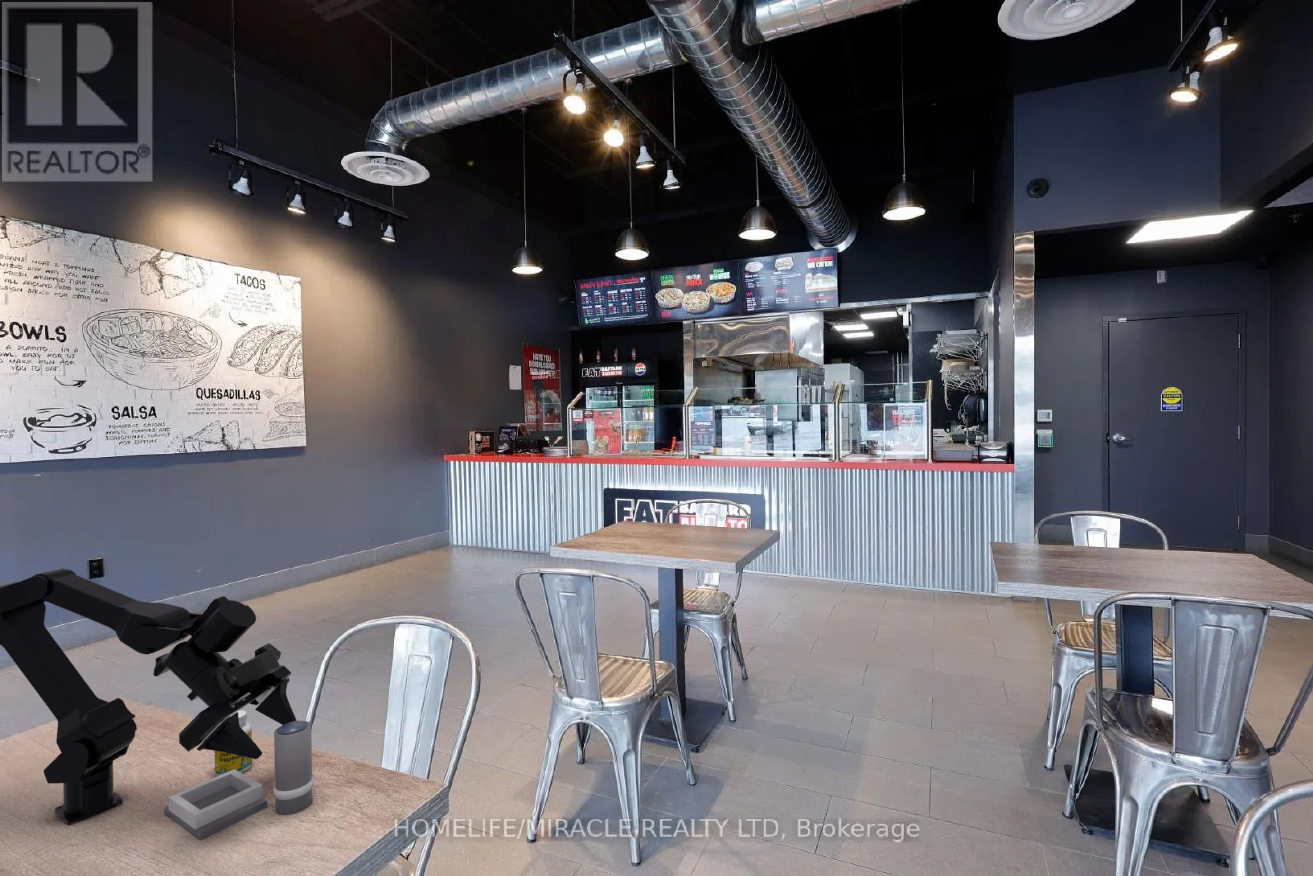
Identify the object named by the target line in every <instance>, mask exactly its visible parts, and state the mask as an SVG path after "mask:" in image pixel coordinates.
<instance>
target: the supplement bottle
mask: <svg viewBox="0 0 1313 876" xmlns="http://www.w3.org/2000/svg"><path fill="white" fill-rule="evenodd" d="M237 712H238V717H239V725H240V727H241V728H242V729H243V730H244V732H245V733H246V734H247V735H248V736H249V737H250V738H251V739H252V740H253V738H252V737H253V728H252V725H251V723H250V722H248V721H247V719H248V717H247V713H248V712H247V711H246V710H243V709H242V710H241V709H240V710H238V711H237ZM235 713H236V712H235ZM235 713H234V714H235ZM232 715H233V714H232ZM232 715H231V716H232ZM252 766H253V759H252V758H248V757H244V756H239V755H235V754H230V753H226V752H220V751H214V773H215V777H217V776H219V775H222V774H224V773H227V772H229V771H231V770H234V769H235V770H237V771H238V772H240V773H242V774H243V773H245V772H246V771H248V770H250V769H251V767H252Z"/></svg>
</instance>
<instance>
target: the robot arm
mask: <svg viewBox="0 0 1313 876" xmlns="http://www.w3.org/2000/svg"><path fill="white" fill-rule="evenodd" d="M45 602H47V603H49V604H52V605H54V606H57V607H59V608H61V609H64V610H66V611H68V612H71V613H74V614H75V615H77V616H81V617H83V618H85V619H88V620H90V621H92V622H95V623H97V624H100V625H102V626H105V627H107V628H109V629H111V630H112V631H114V632H115V633H116V636H117V638H118V640H119V642H120V643H122V644H123V645H125V646H127V647H129V648H130V649H132V650H133V651H135V652H136V653H138V654H140V655H141V654H142V655H150V654H154V653H157V652H159V651H161V650H162V651H163V650H164V649H166V648H168V647H170V646H173V645H175V644H176V645H175V646H174V647H172V649H171V650H170V651H169V652H166V653H165V654H161V655H159V656H158V657H156V658H155V659H154V660H155V665H154V669H153V674H152V675H153V676H154V677H160V676H161V675H163V674H165V673H167V672H169V671H171V672H172V674H174V676H176V678H178V679H179V680H180V681H181V682H182V683H183V684H184V685H185V686H186V687H187V688H188V690H190V693H189V694H188V695H186V697H187V698H188V699H189V700H190V701H191V702H192V701H194V700H195V699H198V698H199V700H201V701H202V702H203V703H204V704H205V705H206V706H207V707H206V708H205V709H203V710H202V711H200V712H199V713H198V714H197V715H196V716H195V717H194V718H193V719H192V720H191V721H190V722H189V723H188V724H187V725H186V726H185V727H184V728H183V729H182V730H181V731H180V732H179V733H178V743H179V745H180V746H182V748H184V749H185V750H186V751H187V752H190V751H192V750H193V749H196V750H197V751H198V752H200V751H202V750H207V751H214V752H215V751H220V752H226V753H230V754H235V755H239V756H244V757H248V758H252V760H258V759H259V758H260V757H261V756H262V755H263V751H262V750H261V749H260V748H259V746H258V744H257V743H256V742H254V740H253V738H252V739H251V738H250V737H249V736H248V735H247V734H246V733H245V732H244V730H243V729H242V728H241V727H240V725H239V717H238V712H237V711H238V710H241V709H243V708H244V707H246V706H247V705H249V704H250V705H253V706H257V707H255V709H254V710H255V711H257V712H258V713H260V714H262V715H264V716H265V717H267V718H269V719H271V720H273V721H274V722H276V723H278V724H280V725H281V726H282V725H284V724H286V723H289V722H293V721H298V720H297V718H296V716H295V713H294V711H293V708H292V706H291V704H290V702H289V699H288V696H287V688H288V684H289V683H290V681H291V680H290V676H291V675H292V672H291V670H289V669H288V668H287V667H286V666H285V665H280V663H279V660H280V659H281V655H282V652H281V650H278V649H277V647H275V645H272V644H271V643H270V642H269V643H266V644H264V645H262V646H261V647H259V648H257V649H255V650H254V657H252V658H249V659H248V660H246V661H244V662H242V661H241V660H240V659H238V658H235V657H234V658H231V660H227V659H226V658H225V657H224V656H223V655H222V654H221V653H225V652H228V651H229V650H230V649H231V648H232V647H233V646H234V645H235V644H236V643H237V642H238V641H239V640H240V639H241V638H242V637H243V636H244V635H245V633H247V632H248V631H249V629H250V628H251V627H252V626H253V625H255V624H256V621H257V615H256V613H255V611H254V610H253V608H251V607H250V605H247V604H245V603H242V602H240V601H237V600H231V599H230V600H229V599H228V598H227V597H226V596H225V595H222V596H220V597H217V598H215V599H213V600H212V601H211V602H210V603H209V605H208V606H207V608H206V609H205V610H204V611H203V613H195V612H190V611H189V610H187V608H184V607H182V606H178V605H174V604H170V603H166V602H165V603H164V602H154V601H153V602H152V601H151V602H148V601H147V602H146V601H143V600H142V601H141V600H137V599H134V598H132V597H130V596H128V595H125V594H122V593H121V592H117V590H113V589H110V588H109V587H106V586H103V585H101V584H99V583H96V582H94V581H91V580H89V579H87V578H84V577H83V576H80V575H77V574H76V573H75V571H74V570H71V569H68V568H58V569H53V570H49V571H48V570H47V571H44V572H39V573H37V574H34V575H32V576H31V577H28V578H26V579H23V580H21V581H14V582H10V583H6V584H2V585H0V646H1V647H3V649H4V650H5V651H6V653H8V655H9V657H10V659H12V661H13V662H14V663H15V665H16V666H17V668H18V669H19V670H20V672H21V673H22V674H23V676H24V677H25V679H26V680H27V681H28V682H29V684H30V685H31V686H32V688H33V689H34V690H35V692H36V693H37V694H38V696H39V697H40V698H41V700H42V701H43V702H44V704H45V705H46V706H47V708H48V710H49V711H50V713H52V715H53V717H55V719H56V721H57V730H56V739H55V741H56V744H57V745H56V746H57V747H58V750H59V751H60V754H58V755H57V756H56V757H55V758H54V759H53V760H52V761H51V762H50V763H49V764H48V765H47V766H46V767H45V768H44V769H43V774H44V777H45V780H46V783H47V784H63V785H62V786H63V790H62V791H63V804H62V805H59V806H57V807H55V808H54V813H55V814H56V815H57V816H58V817H59V818H60V819H61V820H62V821H63V822H65V824H67V825H71V824H74V823H77V822H79V821H81V820H83V819H84V820H85V819H86V818H89V817H91V816H94V815H96V814H99V813H101V812H104V811H106V810H108V809H111V808H113V807H115V806H119V805H121V804H122V803H123V801H124V799H123V798H122V797H121V796H120V795H118V794H117V793H115V792H114V761H115V760H117V759H119V758H121V757H123V756H125V755H126V754H127V753H128V749H129V747H130V744H131V743H132V742H133V741H134V739H135V736H136V731H137V730H138V727H137V724H136V722H135V720H134V719H135V718H136V714H134V713H132V712H131V711H130V710H129V709H128V707H127V705H126V704H125V701H124V700H123V699H122V698H120V697H117V698H115V699H112V700H111V701H108V700H104V699H102V698H99V697H98V696H97V695H96V693H94V691H93V690H92V689H91V687H90V686H89V684H88V683H87V681H86V680H85V679H84V678H83V675H81V674H80V672H79V671H78V670H77V668H76V667H75V665H74V664H73V663H72V661H71V660H70V659H69V657H68V655H66V653H65V652H64V650H63V649H62V648H61V647H60V645H59V644H58V642H57V641H56V640H55V638H54V636H52V634H51V633H50V632H49V630H48V629H47V627H46V626H45V621H46V612H47V607H46V604H45ZM189 636H190V638H189V639H188V640H186V639H187V638H188V637H189ZM177 643H178V644H177ZM235 712H236V713H235ZM234 713H235V714H234ZM232 714H233V715H232ZM231 715H232V716H231ZM196 747H197V748H196Z"/></svg>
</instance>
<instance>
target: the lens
mask: <svg viewBox="0 0 1313 876" xmlns="http://www.w3.org/2000/svg"><path fill="white" fill-rule="evenodd" d="M273 738H274V739H273V741H274V742H273V743H274V744H273V746H274V747H273V748H274V785H273V797H274V799H275V801H274V802H275V803H274V804H275V812H276V814H277V815H282V816H286V815H287V816H288V815H292V814H297V813H299V812H301V811H303V810H305V809H307V808H308V807H310V806H311V804H312V803H313V799H314V797H313V796H314V795H313V788H314V784H315V781H314V780H315V778H314V777H315V776H314V774H313V758H312V757H313V752H312V751H313V750H312V749H313V747H312V746H313V745H312V744H313V743H312V740H313V739H312V723H311V722H310V721H307V720H297V721H293V722H289V723H286V724H284V725H282V724H281V725H280V726H279V727H277V728H276V729H275V730H274V732H273Z"/></svg>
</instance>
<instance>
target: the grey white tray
mask: <svg viewBox="0 0 1313 876" xmlns="http://www.w3.org/2000/svg"><path fill="white" fill-rule="evenodd" d="M266 808H268V800H267V799H265V798H263V785H262V784H261V783H260V782H258V781H256V780H254V779H253V778H251V777H248V776H247V775H245V774H243V773H240V772H238V771H237V770H235V769H234V770H231V771H229V772H227V773H224V774H222V775H219V776H214V777H213V778H210V779H208V780H205V781H203V782H201V783H198V784H196V785H194V786H191V787H189V788H186V789H184V790H182V791H180V792H177V793H175V794H172V795H170V796H168V805H166V806H164V815H166V817H169V818H170V819H172V820H173V821H174V822H175V823H176V824H178V825H179V826H180V827H182V828H183V829H184V830H186V831H188V832H189V833H190V834H192V836H194V837H195V838H197V839H199V840H201V841H202V840H203V839H205V838H209V836H212V835H213V834H215V833H218V832H220V831H222V830H223V829H226V828H228V827H230V826H232V825H234V824H237V823H238V822H240V821H242V820H244V819H247V818H248V817H250V816H252V815H254V814H257V813H259V812H260V811H262V810H265V809H266Z"/></svg>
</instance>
